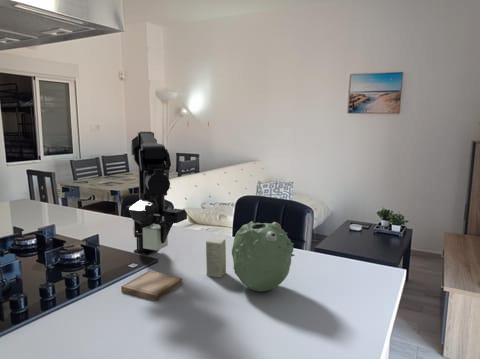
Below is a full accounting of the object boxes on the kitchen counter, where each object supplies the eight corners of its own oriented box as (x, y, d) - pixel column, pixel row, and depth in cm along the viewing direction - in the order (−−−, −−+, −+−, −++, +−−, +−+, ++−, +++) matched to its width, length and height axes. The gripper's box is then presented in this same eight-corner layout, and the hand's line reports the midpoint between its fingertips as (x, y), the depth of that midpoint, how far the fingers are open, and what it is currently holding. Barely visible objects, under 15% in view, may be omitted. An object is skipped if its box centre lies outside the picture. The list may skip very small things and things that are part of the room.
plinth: (121, 291, 100) (121, 286, 100) (149, 275, 111) (149, 270, 111) (156, 300, 95) (156, 295, 95) (181, 282, 106) (181, 277, 106)
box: (226, 272, 114) (226, 239, 112) (221, 278, 110) (221, 243, 108) (211, 270, 116) (211, 237, 114) (205, 275, 112) (205, 241, 110)
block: (143, 248, 104) (142, 228, 103) (153, 243, 109) (153, 223, 108) (157, 250, 102) (156, 230, 101) (167, 245, 107) (167, 225, 106)
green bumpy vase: (245, 271, 115) (246, 210, 112) (301, 286, 105) (304, 220, 102) (217, 291, 102) (218, 222, 98) (278, 309, 92) (281, 234, 89)
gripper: (108, 190, 99) (110, 245, 102) (164, 196, 92) (165, 255, 94) (135, 185, 110) (136, 234, 112) (187, 190, 102) (188, 243, 104)
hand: (155, 241), depth 105 cm, fingers closed on block, 5 cm apart
